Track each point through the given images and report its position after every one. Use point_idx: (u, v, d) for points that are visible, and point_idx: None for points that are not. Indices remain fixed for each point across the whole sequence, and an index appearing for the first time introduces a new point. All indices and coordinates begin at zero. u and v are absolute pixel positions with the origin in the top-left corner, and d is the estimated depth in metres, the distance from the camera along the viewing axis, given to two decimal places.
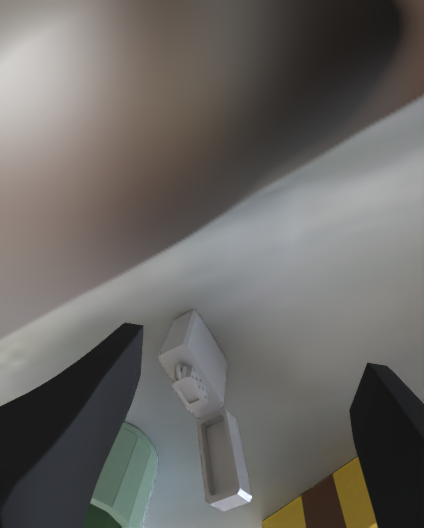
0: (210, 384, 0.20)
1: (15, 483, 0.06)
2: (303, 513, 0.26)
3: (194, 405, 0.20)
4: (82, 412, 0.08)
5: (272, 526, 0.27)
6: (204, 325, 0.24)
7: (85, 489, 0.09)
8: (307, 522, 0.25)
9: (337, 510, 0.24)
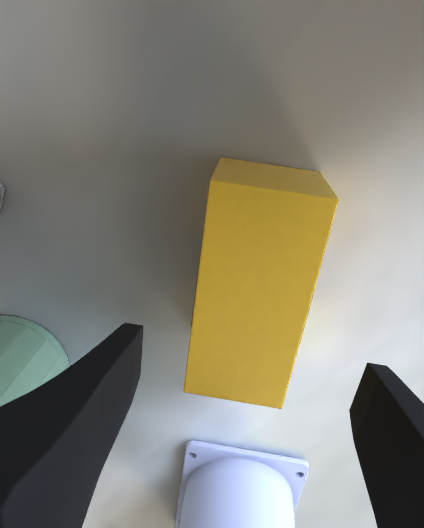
0: None
1: (15, 483, 0.06)
2: None
3: None
4: (81, 412, 0.08)
5: None
6: None
7: (85, 489, 0.09)
8: None
9: None
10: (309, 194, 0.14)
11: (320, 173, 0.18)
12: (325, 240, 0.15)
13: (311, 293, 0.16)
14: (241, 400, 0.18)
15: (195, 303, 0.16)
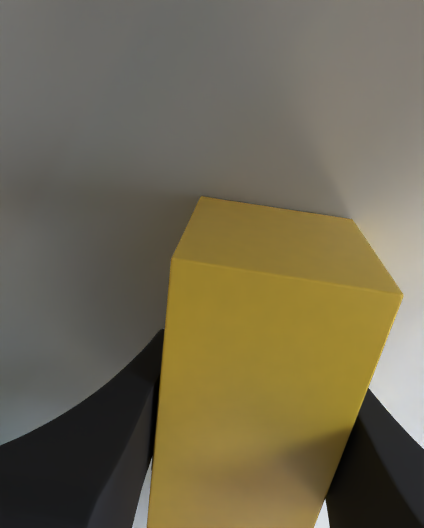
0: None
1: (96, 498, 0.06)
2: None
3: None
4: (138, 422, 0.08)
5: None
6: None
7: (134, 498, 0.09)
8: None
9: None
10: (350, 285, 0.08)
11: (354, 223, 0.11)
12: (375, 359, 0.08)
13: (347, 435, 0.09)
14: None
15: (156, 441, 0.10)
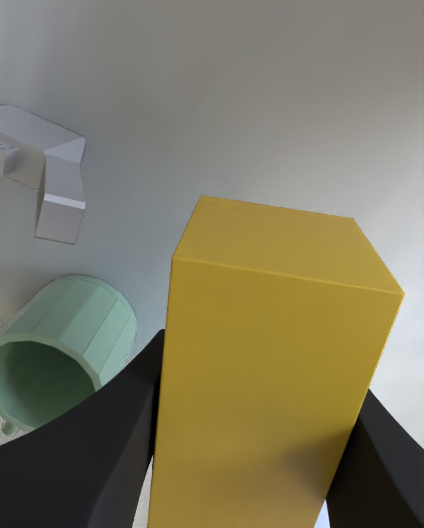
0: (10, 137, 0.16)
1: (96, 498, 0.06)
2: None
3: None
4: (138, 422, 0.08)
5: None
6: (26, 112, 0.20)
7: (134, 498, 0.09)
8: None
9: None
10: (351, 284, 0.08)
11: (355, 222, 0.11)
12: (376, 358, 0.08)
13: (348, 434, 0.09)
14: None
15: (156, 440, 0.10)
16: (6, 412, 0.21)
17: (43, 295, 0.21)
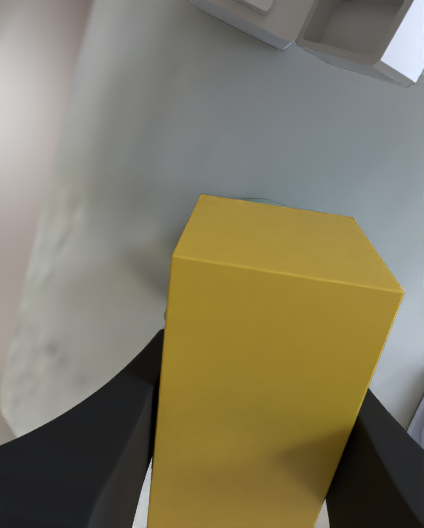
0: None
1: (96, 498, 0.06)
2: None
3: None
4: (138, 422, 0.08)
5: None
6: None
7: (134, 498, 0.09)
8: None
9: None
10: (351, 282, 0.08)
11: (355, 221, 0.11)
12: (376, 357, 0.08)
13: (347, 433, 0.09)
14: None
15: (156, 439, 0.10)
16: None
17: None
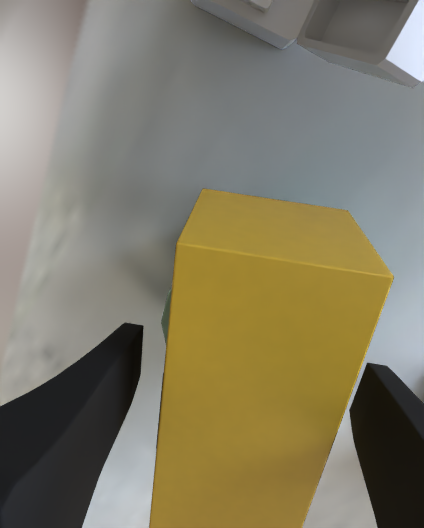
0: None
1: (15, 483, 0.06)
2: None
3: None
4: (82, 412, 0.08)
5: None
6: None
7: (85, 489, 0.09)
8: None
9: None
10: (344, 268, 0.08)
11: (350, 214, 0.12)
12: (368, 339, 0.09)
13: (341, 413, 0.10)
14: None
15: (160, 420, 0.11)
16: None
17: None
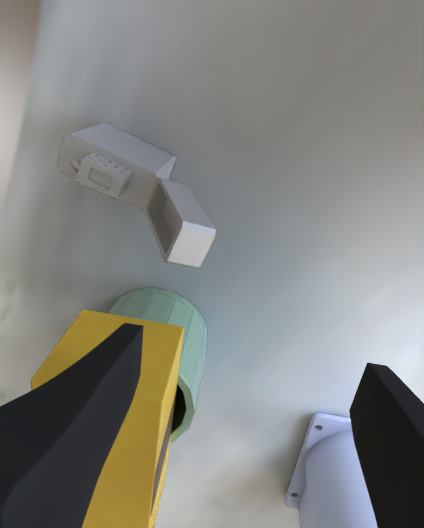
0: (124, 160, 0.16)
1: (15, 483, 0.06)
2: None
3: (114, 187, 0.16)
4: (81, 412, 0.08)
5: None
6: (120, 131, 0.20)
7: (85, 489, 0.09)
8: None
9: None
10: None
11: (181, 331, 0.17)
12: (156, 436, 0.14)
13: (152, 477, 0.15)
14: None
15: None
16: None
17: (126, 309, 0.22)
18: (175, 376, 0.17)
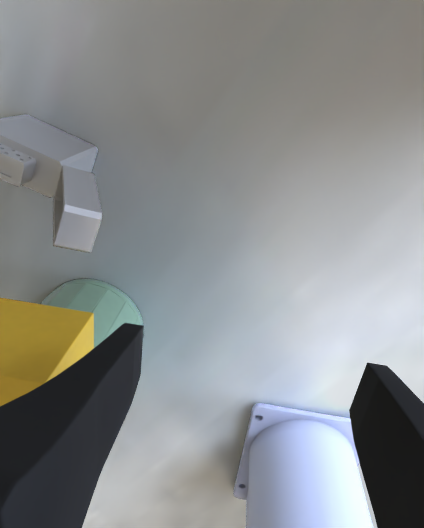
0: (28, 148, 0.17)
1: (15, 483, 0.06)
2: None
3: (15, 175, 0.16)
4: (81, 412, 0.08)
5: None
6: (40, 122, 0.20)
7: (85, 489, 0.09)
8: None
9: None
10: (16, 377, 0.14)
11: (89, 317, 0.17)
12: None
13: None
14: None
15: None
16: None
17: (54, 298, 0.22)
18: None
